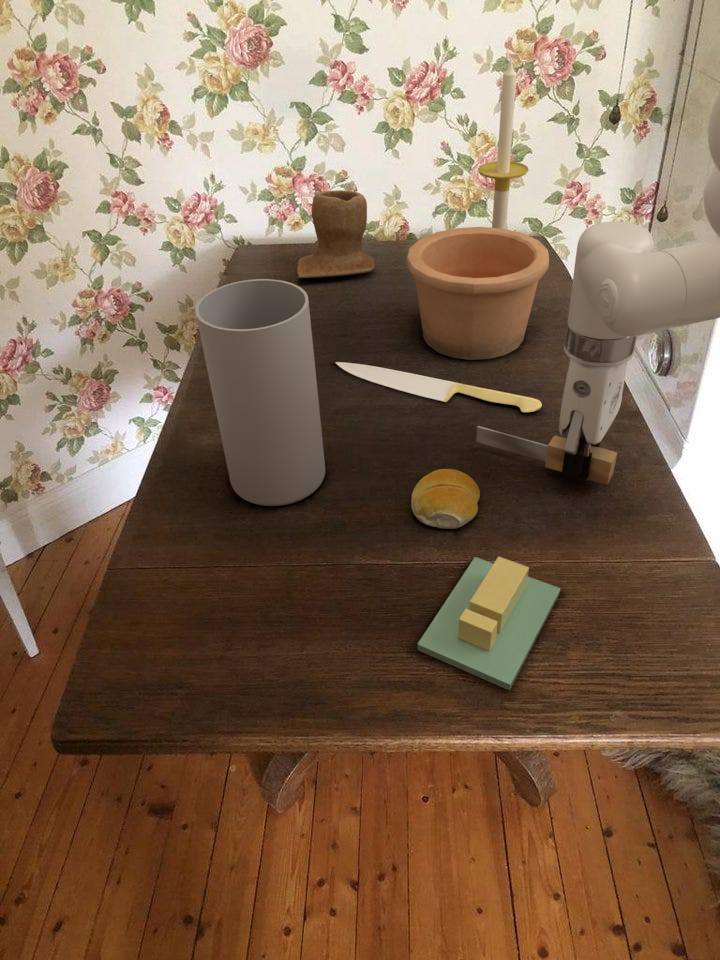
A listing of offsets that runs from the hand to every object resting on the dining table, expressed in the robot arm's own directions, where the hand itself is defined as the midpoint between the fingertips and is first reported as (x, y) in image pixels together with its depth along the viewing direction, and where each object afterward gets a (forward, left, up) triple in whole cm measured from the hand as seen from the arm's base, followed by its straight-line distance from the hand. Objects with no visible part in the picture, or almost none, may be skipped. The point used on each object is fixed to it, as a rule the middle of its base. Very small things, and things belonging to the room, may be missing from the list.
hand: (579, 468), depth 95 cm
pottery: (+27, -28, -2) cm, 39 cm away
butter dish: (0, +27, -2) cm, 27 cm away
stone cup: (+62, -40, -2) cm, 74 cm away
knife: (+26, -10, -2) cm, 28 cm away
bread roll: (+12, +13, -2) cm, 18 cm away
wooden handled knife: (+5, 0, 0) cm, 5 cm away
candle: (+32, -49, -2) cm, 59 cm away
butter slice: (0, +30, -1) cm, 30 cm away
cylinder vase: (+34, +18, -2) cm, 39 cm away
